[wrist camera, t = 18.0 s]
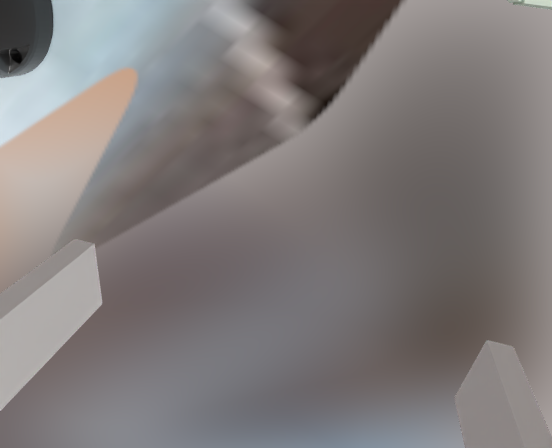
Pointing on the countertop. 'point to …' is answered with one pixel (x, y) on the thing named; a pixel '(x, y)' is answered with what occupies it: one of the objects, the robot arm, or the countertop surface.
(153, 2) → the countertop surface
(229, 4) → the countertop surface
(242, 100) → the countertop surface
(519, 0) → the round tray
